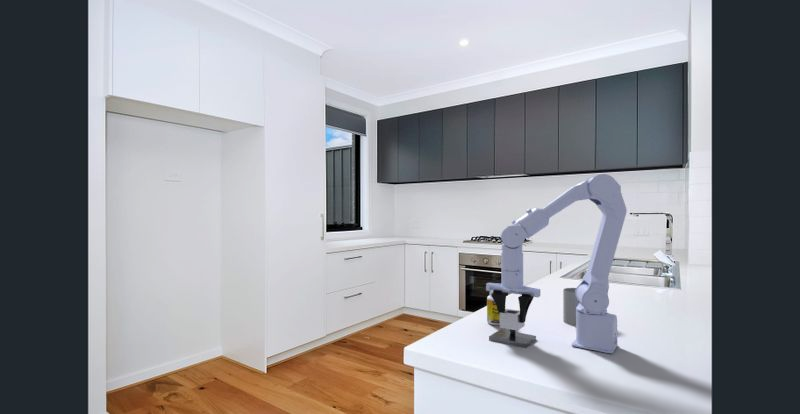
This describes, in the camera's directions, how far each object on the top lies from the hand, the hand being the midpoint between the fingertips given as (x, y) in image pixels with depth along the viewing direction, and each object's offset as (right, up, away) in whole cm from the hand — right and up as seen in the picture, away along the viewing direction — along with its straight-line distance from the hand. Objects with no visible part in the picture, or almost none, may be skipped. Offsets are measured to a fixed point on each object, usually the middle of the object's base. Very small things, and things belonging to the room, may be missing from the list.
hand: (512, 320), depth 107 cm
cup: (+25, -6, +16) cm, 30 cm away
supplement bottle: (-1, -6, +16) cm, 17 cm away
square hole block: (0, -2, 0) cm, 2 cm away
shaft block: (0, -5, 0) cm, 5 cm away
